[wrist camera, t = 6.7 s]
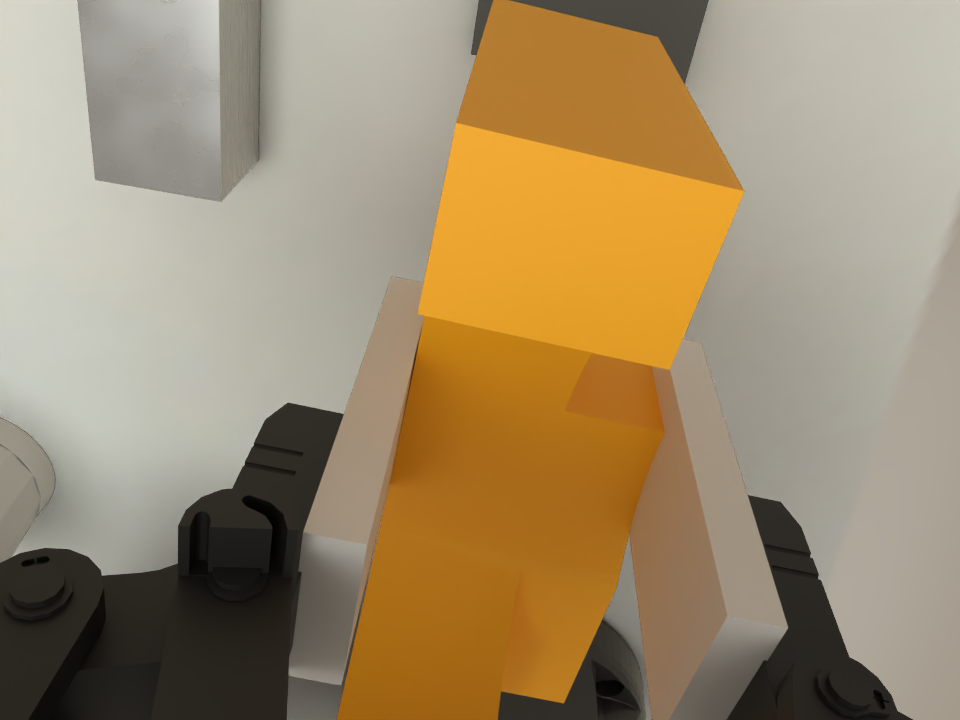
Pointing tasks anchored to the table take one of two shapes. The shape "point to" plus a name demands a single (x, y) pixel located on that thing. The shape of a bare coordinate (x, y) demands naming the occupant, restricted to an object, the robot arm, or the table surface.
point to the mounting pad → (628, 21)
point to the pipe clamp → (537, 365)
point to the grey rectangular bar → (172, 92)
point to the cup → (21, 485)
